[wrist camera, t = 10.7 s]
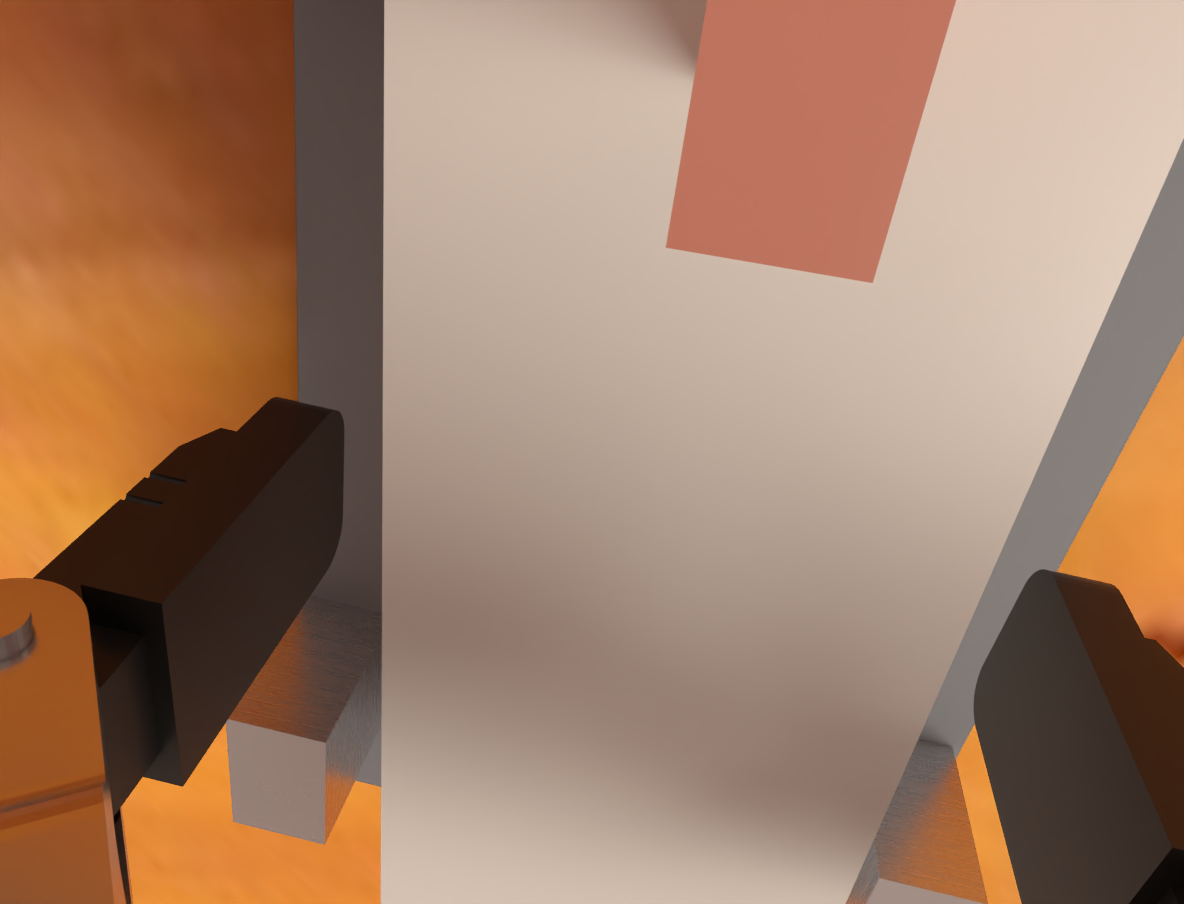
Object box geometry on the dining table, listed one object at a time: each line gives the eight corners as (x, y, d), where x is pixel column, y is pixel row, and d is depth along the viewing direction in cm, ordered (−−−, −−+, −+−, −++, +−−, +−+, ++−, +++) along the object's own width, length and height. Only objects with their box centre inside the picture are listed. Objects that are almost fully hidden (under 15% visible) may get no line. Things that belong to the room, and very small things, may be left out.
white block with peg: (604, -292, 10) (-250, -1401, 2) (1041, -238, 9) (2926, -1280, 1) (499, 749, 18) (278, 1438, 10) (728, 798, 18) (698, 1556, 9)
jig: (346, -554, 10) (89, -848, 6) (1478, -376, 9) (1975, -579, 6) (331, 714, 20) (231, 898, 17) (868, 843, 20) (892, 1068, 16)
